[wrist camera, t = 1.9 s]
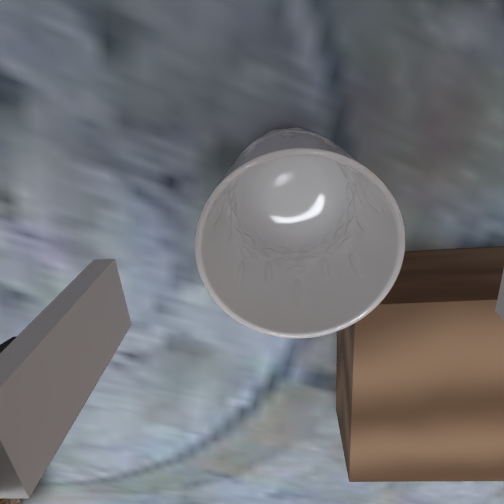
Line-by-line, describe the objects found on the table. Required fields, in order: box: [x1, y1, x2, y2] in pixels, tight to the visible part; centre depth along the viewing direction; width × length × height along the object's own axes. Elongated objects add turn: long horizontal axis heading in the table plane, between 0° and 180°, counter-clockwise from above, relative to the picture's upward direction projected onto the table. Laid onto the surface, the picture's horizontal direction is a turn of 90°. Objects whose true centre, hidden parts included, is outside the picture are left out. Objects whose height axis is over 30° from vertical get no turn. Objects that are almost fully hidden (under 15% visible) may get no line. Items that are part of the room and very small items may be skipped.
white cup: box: [195, 127, 405, 338], centre depth 19 cm, size 8×8×10 cm
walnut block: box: [336, 247, 504, 482], centre depth 25 cm, size 14×14×6 cm
